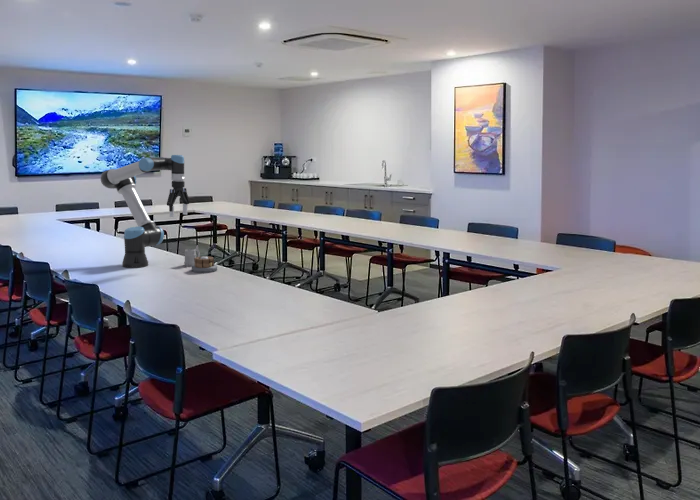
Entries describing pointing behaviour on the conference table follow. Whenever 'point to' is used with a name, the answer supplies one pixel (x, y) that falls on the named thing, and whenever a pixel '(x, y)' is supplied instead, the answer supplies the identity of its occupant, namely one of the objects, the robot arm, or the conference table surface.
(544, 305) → the conference table surface
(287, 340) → the conference table surface
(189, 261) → the mug
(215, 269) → the flange base
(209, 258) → the collar
